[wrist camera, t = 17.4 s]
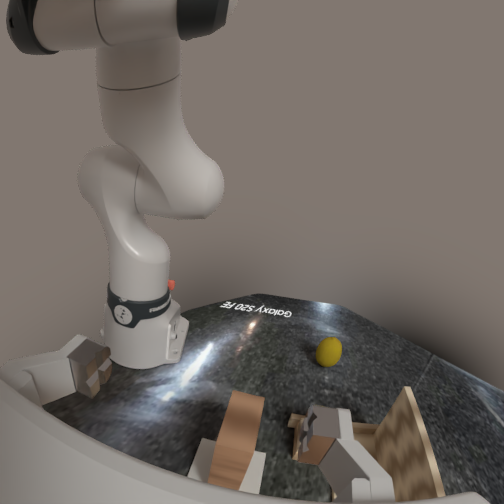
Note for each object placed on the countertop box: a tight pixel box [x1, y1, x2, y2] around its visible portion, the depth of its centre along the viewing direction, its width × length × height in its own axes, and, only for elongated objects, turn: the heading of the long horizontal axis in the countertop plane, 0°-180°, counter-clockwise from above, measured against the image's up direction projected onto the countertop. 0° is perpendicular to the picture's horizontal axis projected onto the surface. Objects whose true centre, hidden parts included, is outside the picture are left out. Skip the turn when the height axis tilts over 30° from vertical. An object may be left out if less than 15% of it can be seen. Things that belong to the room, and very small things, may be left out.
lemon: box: [316, 337, 342, 367], centre depth 62 cm, size 6×6×8 cm
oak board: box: [208, 390, 265, 490], centre depth 32 cm, size 9×4×13 cm, turn 171°
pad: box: [187, 438, 266, 494], centre depth 35 cm, size 10×10×1 cm
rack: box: [288, 387, 445, 502], centre depth 32 cm, size 25×17×13 cm
